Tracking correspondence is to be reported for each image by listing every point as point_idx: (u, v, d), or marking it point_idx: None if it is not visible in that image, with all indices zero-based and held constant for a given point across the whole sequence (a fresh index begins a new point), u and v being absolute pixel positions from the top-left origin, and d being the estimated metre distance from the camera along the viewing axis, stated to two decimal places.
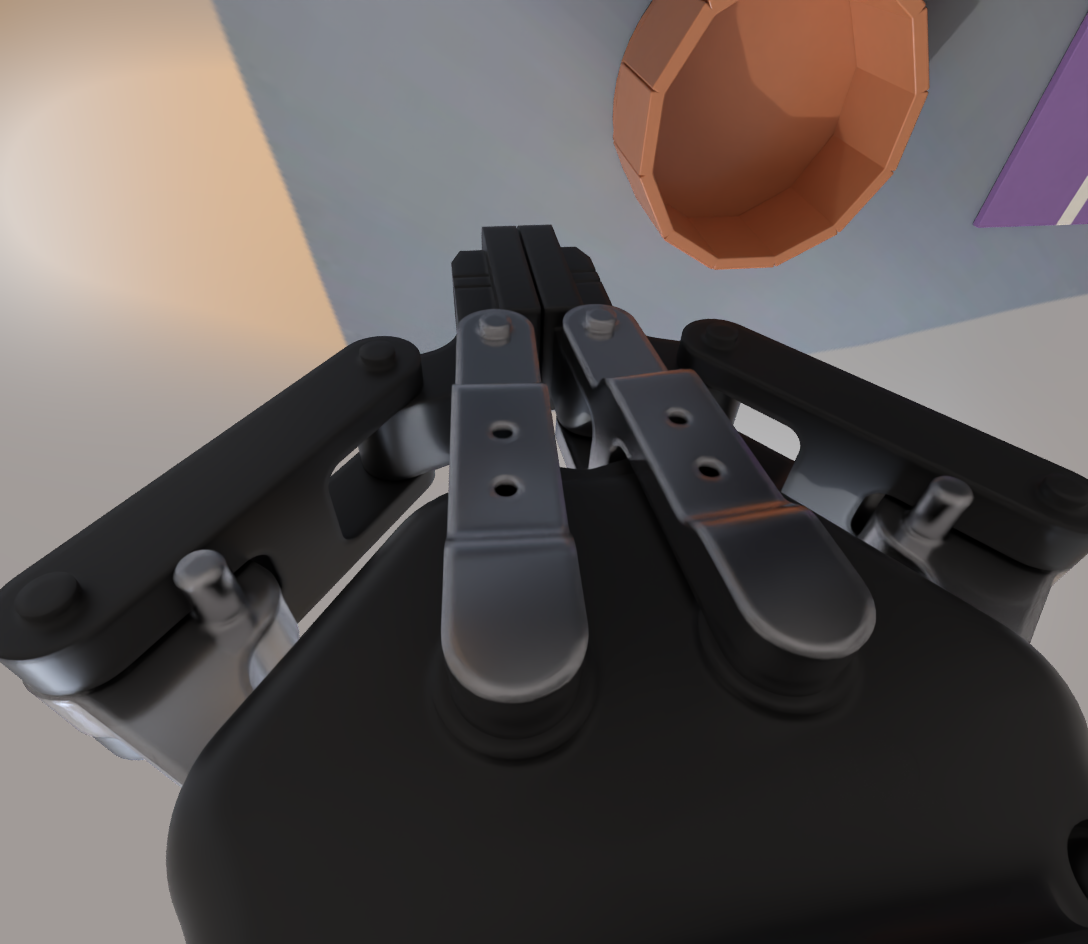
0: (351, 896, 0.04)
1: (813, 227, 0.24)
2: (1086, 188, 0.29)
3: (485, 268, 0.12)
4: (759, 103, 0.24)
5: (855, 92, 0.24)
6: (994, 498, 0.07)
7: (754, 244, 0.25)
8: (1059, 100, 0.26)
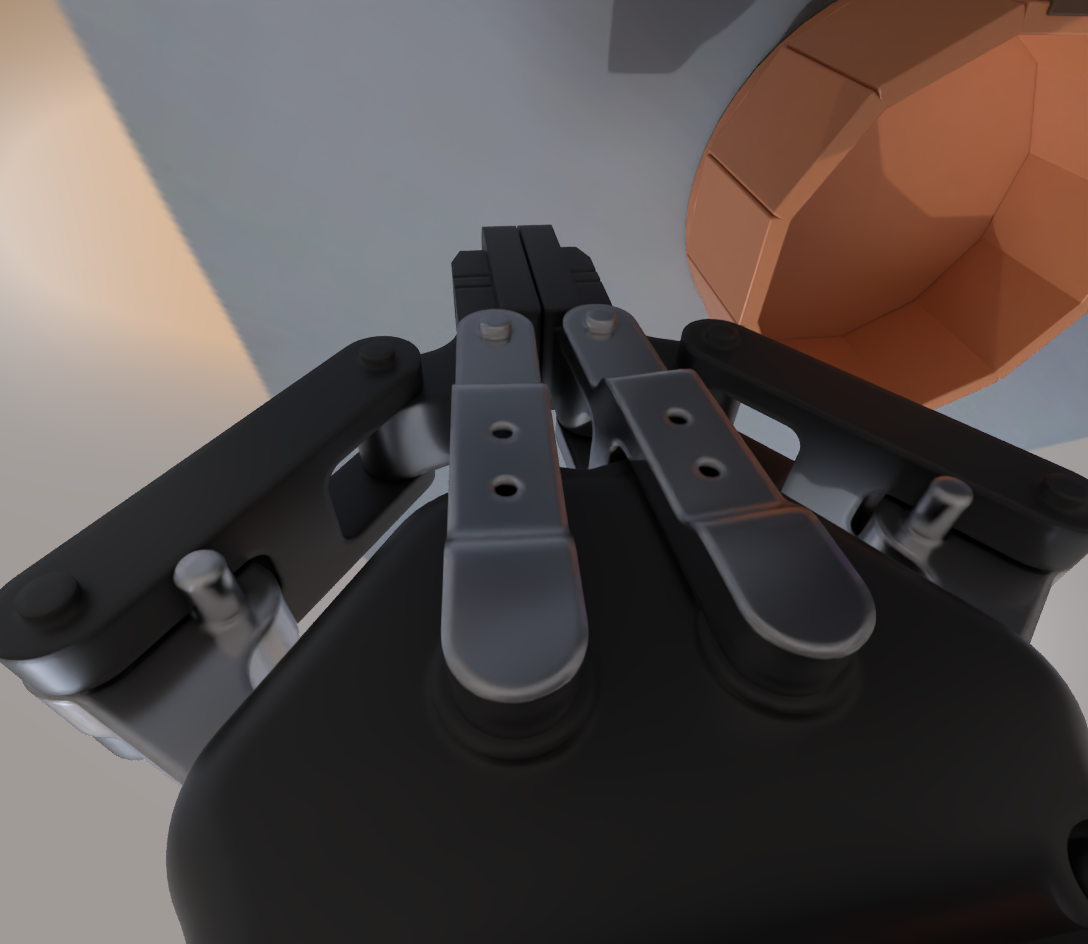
0: (351, 896, 0.04)
1: (962, 371, 0.18)
2: None
3: (485, 268, 0.12)
4: (890, 201, 0.17)
5: (1026, 187, 0.17)
6: (994, 498, 0.07)
7: None
8: None
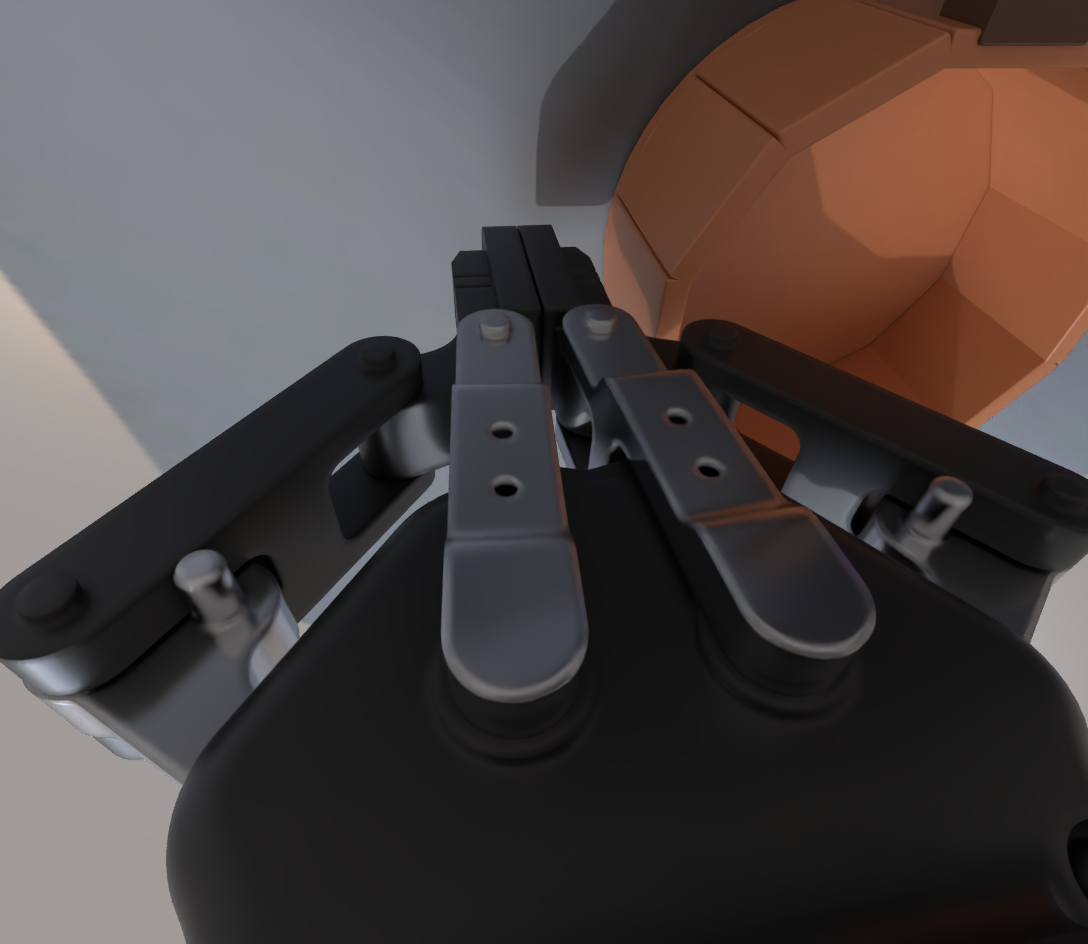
0: (351, 896, 0.04)
1: None
2: None
3: (485, 268, 0.12)
4: (833, 241, 0.15)
5: (986, 225, 0.15)
6: (994, 498, 0.07)
7: None
8: None
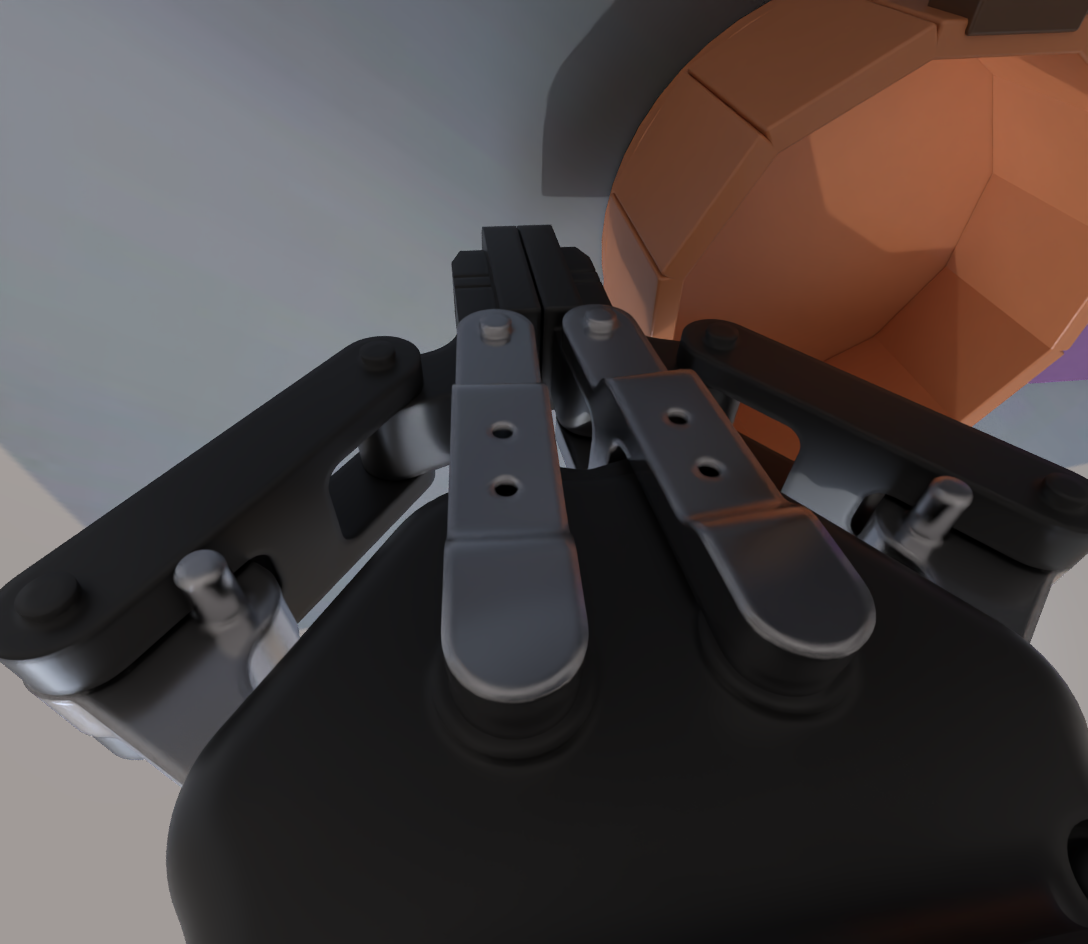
0: (351, 896, 0.04)
1: None
2: None
3: (485, 268, 0.12)
4: (833, 233, 0.15)
5: (990, 212, 0.15)
6: (994, 498, 0.07)
7: None
8: None
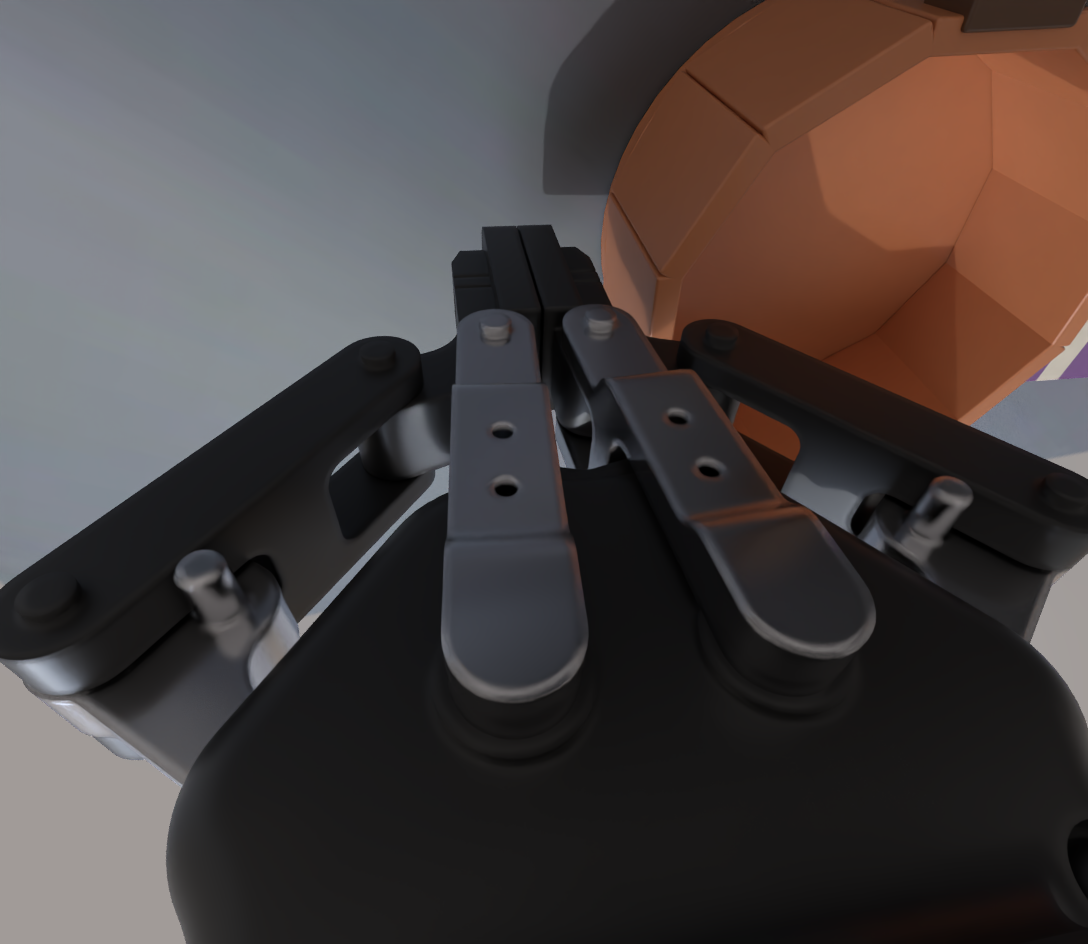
0: (351, 896, 0.04)
1: None
2: (1080, 335, 0.19)
3: (485, 268, 0.12)
4: (832, 230, 0.15)
5: (990, 208, 0.15)
6: (994, 498, 0.07)
7: None
8: None
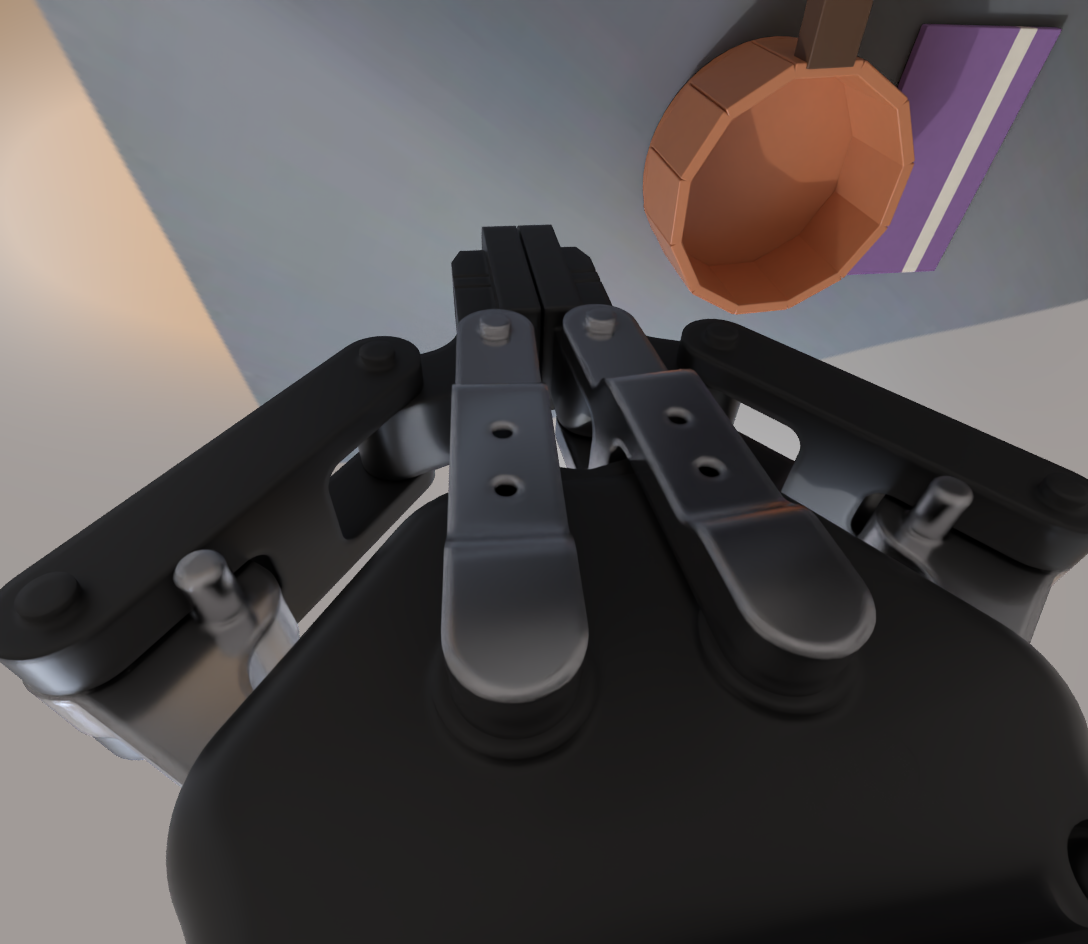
0: (352, 896, 0.04)
1: (820, 274, 0.28)
2: (923, 240, 0.32)
3: (485, 268, 0.12)
4: (769, 170, 0.28)
5: (852, 157, 0.28)
6: (994, 498, 0.07)
7: (769, 289, 0.29)
8: None
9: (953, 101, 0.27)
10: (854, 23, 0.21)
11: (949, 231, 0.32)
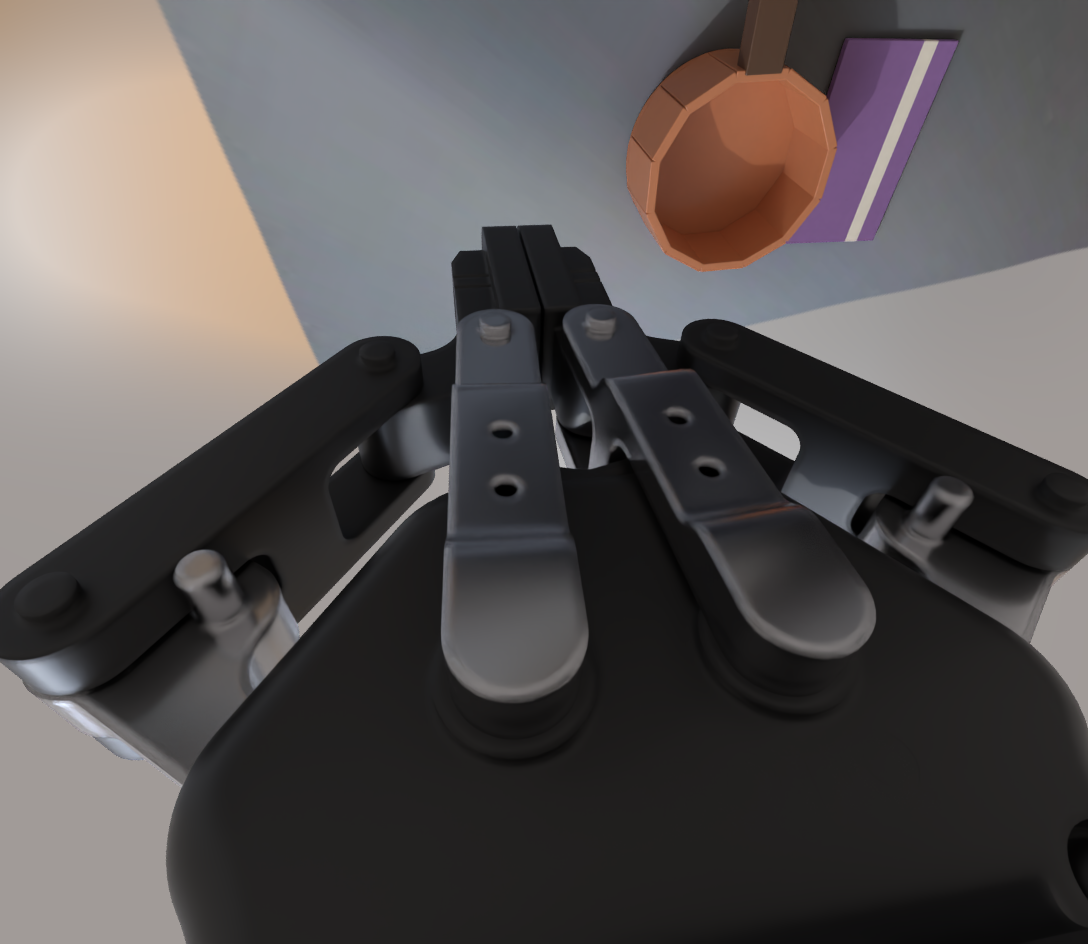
0: (351, 896, 0.04)
1: (769, 239, 0.35)
2: (860, 214, 0.39)
3: (485, 268, 0.12)
4: (727, 155, 0.35)
5: (794, 144, 0.34)
6: (994, 498, 0.07)
7: (729, 252, 0.36)
8: None
9: (875, 99, 0.34)
10: (779, 41, 0.27)
11: (882, 206, 0.39)
